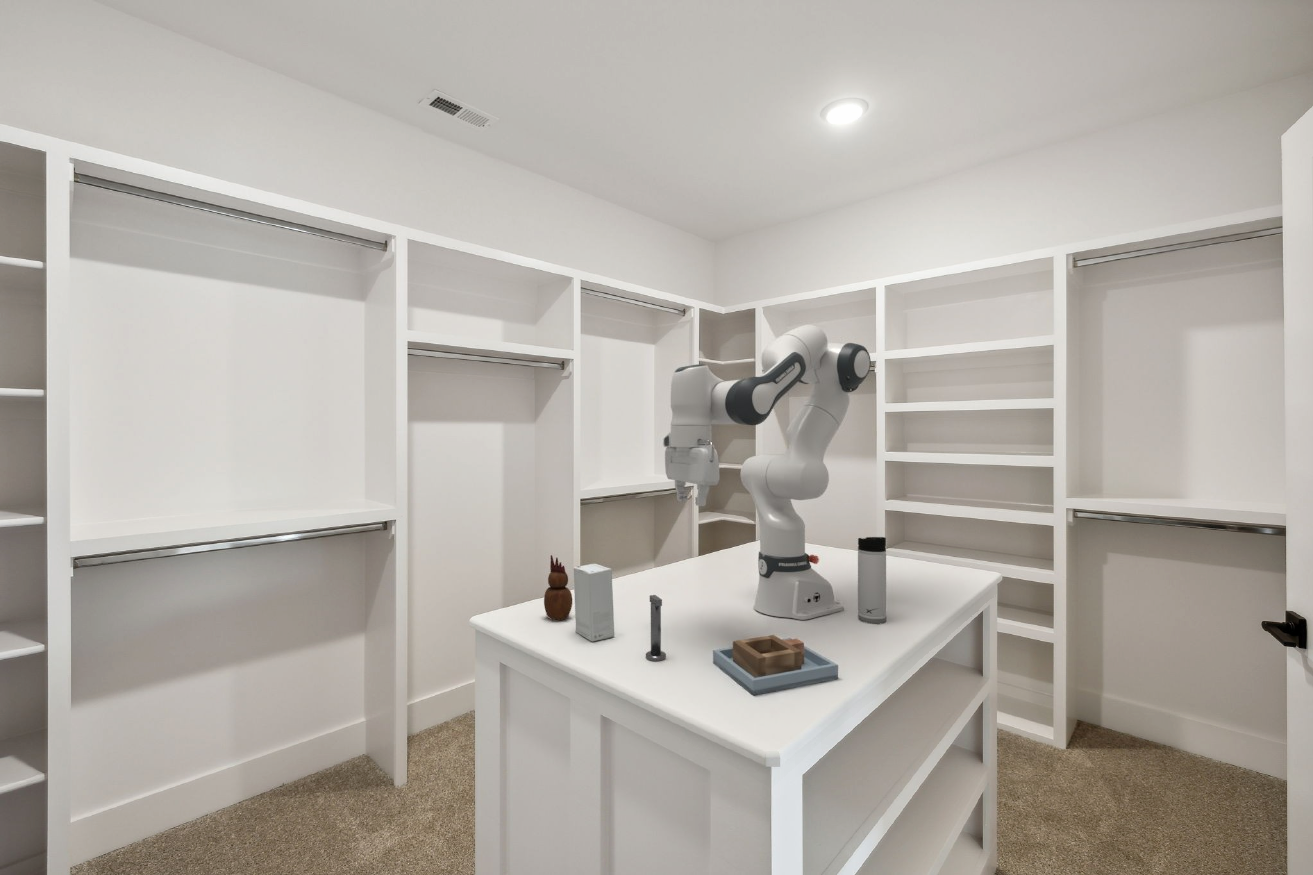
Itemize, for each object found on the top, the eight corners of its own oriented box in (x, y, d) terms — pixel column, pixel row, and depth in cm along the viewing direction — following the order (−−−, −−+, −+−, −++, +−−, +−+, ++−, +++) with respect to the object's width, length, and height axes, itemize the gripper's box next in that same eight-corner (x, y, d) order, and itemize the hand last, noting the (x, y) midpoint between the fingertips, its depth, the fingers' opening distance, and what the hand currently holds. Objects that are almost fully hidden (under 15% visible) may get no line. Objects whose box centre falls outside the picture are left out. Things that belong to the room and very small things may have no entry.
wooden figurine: (539, 618, 135) (539, 555, 135) (559, 612, 140) (559, 552, 140) (557, 624, 131) (556, 559, 131) (576, 618, 135) (576, 555, 135)
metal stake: (661, 652, 114) (661, 593, 114) (669, 659, 110) (668, 599, 110) (642, 655, 112) (642, 595, 112) (649, 662, 108) (649, 601, 108)
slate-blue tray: (790, 650, 115) (790, 637, 115) (838, 678, 101) (838, 664, 101) (713, 663, 108) (713, 650, 108) (753, 695, 95) (753, 680, 95)
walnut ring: (786, 653, 111) (786, 632, 111) (815, 670, 103) (815, 648, 103) (732, 662, 107) (732, 641, 107) (758, 681, 98) (758, 658, 98)
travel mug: (872, 626, 129) (872, 538, 129) (852, 617, 135) (852, 534, 135) (893, 622, 132) (893, 536, 132) (872, 614, 138) (872, 532, 138)
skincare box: (614, 637, 122) (614, 569, 122) (589, 643, 119) (589, 572, 119) (597, 626, 129) (596, 561, 129) (572, 631, 126) (572, 565, 126)
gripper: (727, 439, 113) (727, 508, 113) (685, 439, 132) (685, 498, 132) (698, 439, 111) (698, 509, 111) (660, 439, 130) (660, 499, 130)
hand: (691, 503), depth 122 cm, fingers open, 8 cm apart
